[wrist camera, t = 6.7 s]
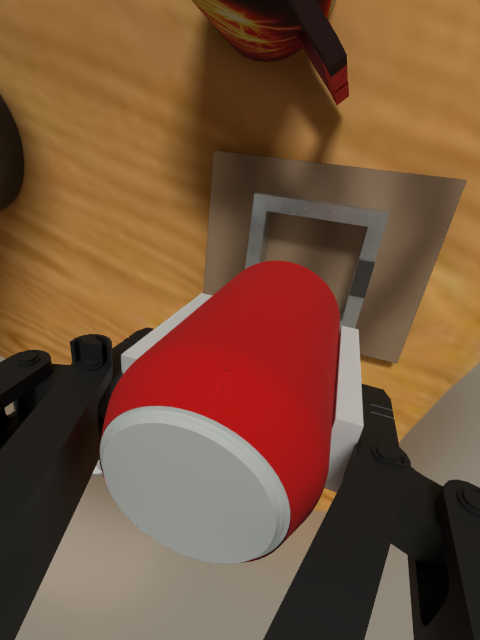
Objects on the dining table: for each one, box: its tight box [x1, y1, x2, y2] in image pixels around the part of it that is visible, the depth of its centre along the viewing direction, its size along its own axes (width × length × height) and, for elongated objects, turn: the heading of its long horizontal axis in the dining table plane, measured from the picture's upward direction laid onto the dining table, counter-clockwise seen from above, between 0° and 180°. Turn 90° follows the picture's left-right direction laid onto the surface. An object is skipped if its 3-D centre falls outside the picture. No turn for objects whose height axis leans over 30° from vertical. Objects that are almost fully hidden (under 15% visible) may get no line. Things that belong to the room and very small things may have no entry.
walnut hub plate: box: [204, 151, 467, 363], centre depth 30 cm, size 20×16×1 cm
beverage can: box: [99, 260, 340, 564], centre depth 13 cm, size 6×6×12 cm
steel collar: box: [245, 192, 389, 333], centre depth 28 cm, size 10×10×3 cm
